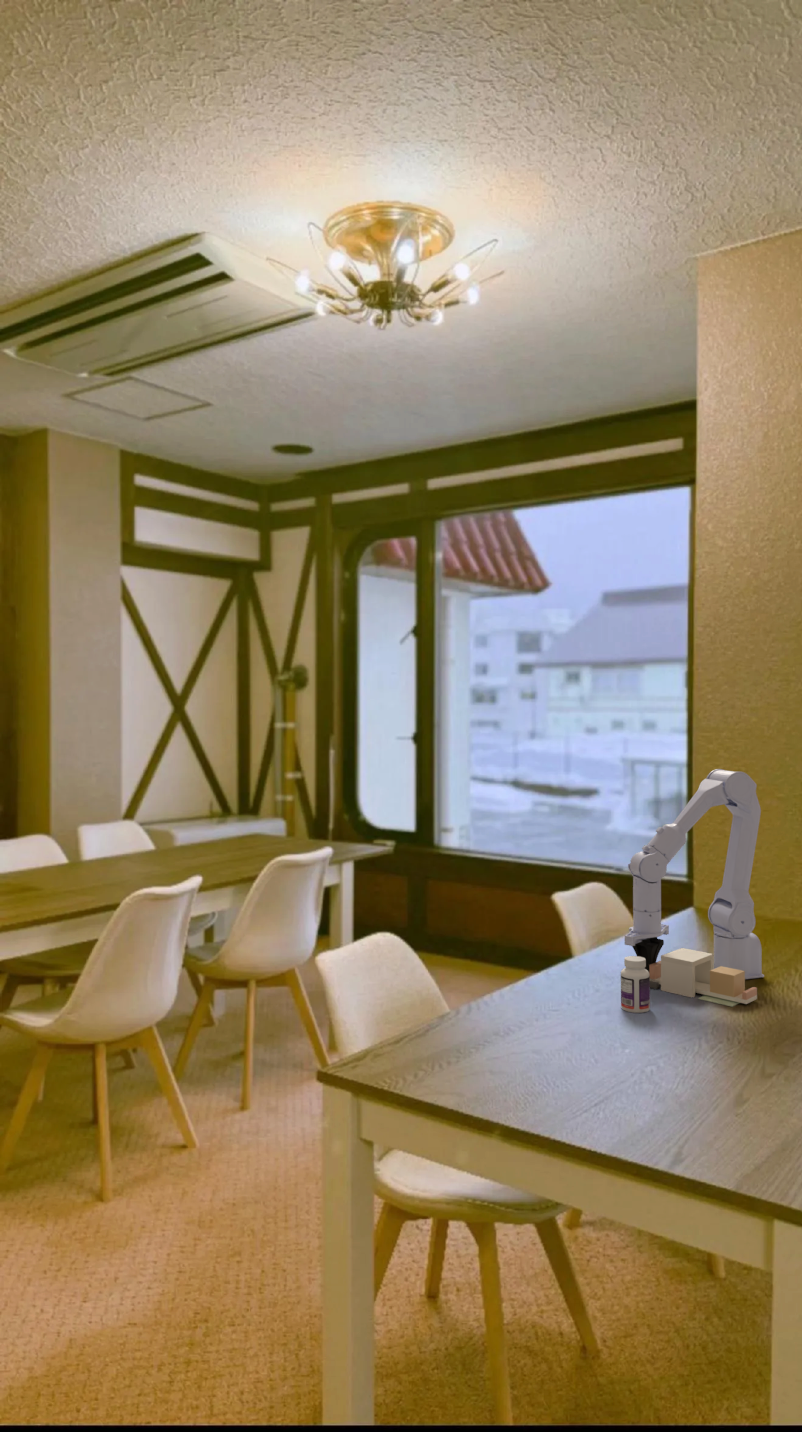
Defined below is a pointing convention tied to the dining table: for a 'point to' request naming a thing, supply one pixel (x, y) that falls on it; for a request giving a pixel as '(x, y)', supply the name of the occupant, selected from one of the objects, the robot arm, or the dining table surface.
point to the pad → (718, 1000)
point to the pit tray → (654, 985)
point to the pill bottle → (635, 985)
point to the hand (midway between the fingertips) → (647, 973)
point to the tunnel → (685, 971)
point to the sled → (717, 984)
